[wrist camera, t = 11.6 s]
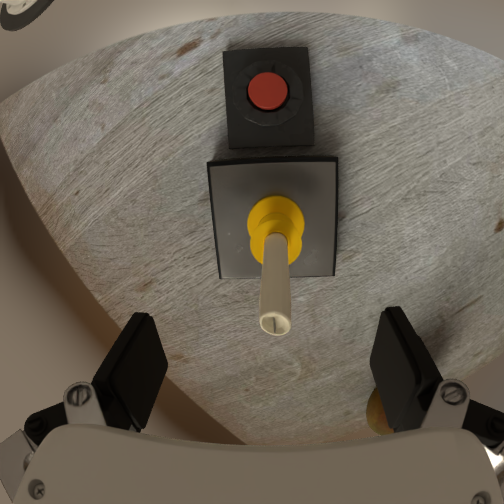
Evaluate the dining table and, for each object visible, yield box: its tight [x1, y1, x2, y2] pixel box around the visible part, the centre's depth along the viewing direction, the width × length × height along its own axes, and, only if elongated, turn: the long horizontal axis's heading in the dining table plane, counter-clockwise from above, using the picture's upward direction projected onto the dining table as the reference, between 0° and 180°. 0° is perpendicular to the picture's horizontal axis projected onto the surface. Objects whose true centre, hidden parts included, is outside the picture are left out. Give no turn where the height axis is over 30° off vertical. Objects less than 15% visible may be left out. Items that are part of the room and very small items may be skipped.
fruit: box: [366, 387, 394, 435], centre depth 33 cm, size 12×13×10 cm
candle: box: [247, 196, 305, 336], centre depth 19 cm, size 5×5×16 cm
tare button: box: [248, 72, 287, 110], centre depth 21 cm, size 3×3×2 cm
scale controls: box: [223, 47, 315, 149], centre depth 23 cm, size 10×8×3 cm
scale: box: [207, 155, 338, 279], centre depth 28 cm, size 12×12×3 cm
